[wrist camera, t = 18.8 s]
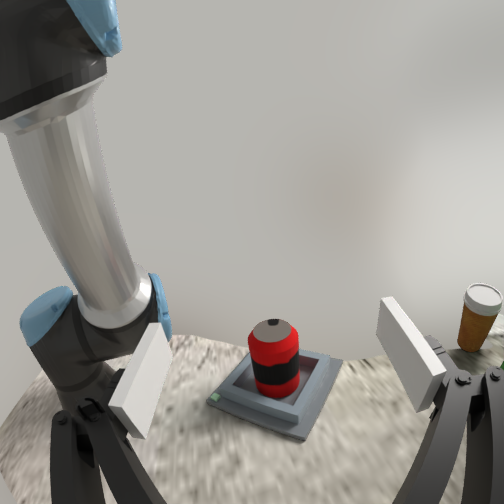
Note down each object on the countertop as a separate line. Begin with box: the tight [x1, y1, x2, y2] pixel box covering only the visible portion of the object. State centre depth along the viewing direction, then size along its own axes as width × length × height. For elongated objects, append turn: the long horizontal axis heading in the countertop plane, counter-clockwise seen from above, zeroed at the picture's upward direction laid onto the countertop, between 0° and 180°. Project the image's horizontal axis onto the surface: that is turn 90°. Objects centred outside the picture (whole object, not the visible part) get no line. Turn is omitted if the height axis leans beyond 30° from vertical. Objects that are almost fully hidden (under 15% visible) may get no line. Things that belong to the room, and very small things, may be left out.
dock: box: [206, 349, 343, 441], centre depth 43 cm, size 18×18×4 cm
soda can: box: [248, 319, 300, 398], centre depth 41 cm, size 8×8×12 cm
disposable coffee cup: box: [457, 283, 503, 352], centre depth 39 cm, size 10×10×12 cm
